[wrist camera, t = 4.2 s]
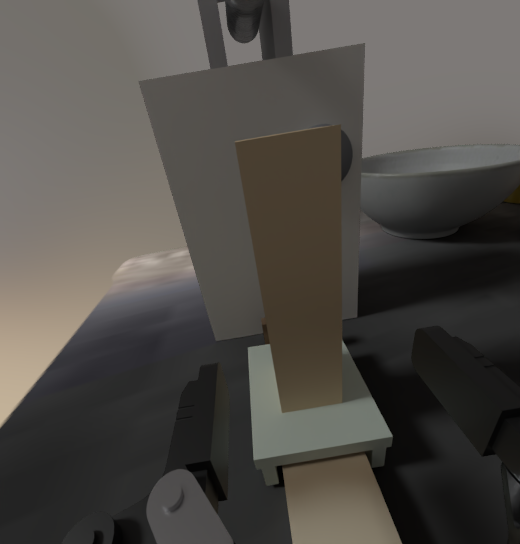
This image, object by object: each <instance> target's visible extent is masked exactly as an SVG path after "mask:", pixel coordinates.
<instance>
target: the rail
mask: <svg viewBox="0 0 520 544" xmlns="http://www.w3.org/2000/svg"><path fill="white" fill-rule="evenodd" d="M261 322H262V329H263V334H264V339H265V345H266V344H270V342H269V336H268V331H267V325H266V319H265V318H261ZM282 469H283V476H284V483H285V490H286V498H287V505H288V512H289V520H290V527H291V534H292V541H293V544H402V542H401V540H400V537H399V535H398V532H397V530H396V527H395V525H394V523H393V520H392V518H391V515H390V513H389V510H388V508H387V505H386V503H385V500H384V498H383V495H382V493H381V491H380V488H379V486H378V483H377V481H376V478H375V476H374V473H373V471H372V468H371V466H370V464H369V461H368V459H367V456H366V454H365V451H363V452H357V453H351V454H345V455H339V456H333V457H327V458H322V459H316V460H310V461H304V462H298V463H292V464H286V465H282Z"/></svg>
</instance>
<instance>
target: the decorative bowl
mask: <svg viewBox="0 0 520 544" xmlns="http://www.w3.org/2000/svg"><path fill="white" fill-rule="evenodd" d="M519 185H520V145H510V144H484V145H483V144H482V145H460V146H445V147H433V148H423V149H415V150H407V151H399V152H393V153H387V154H381V155H376V156H371V157H367V158H362V164H361V200H360V209H361V210H362V211H363V212H364V213H365V214H366V215H367V216H368V217H370V218H371V219H372V220H374V221H376V222H377V223H379V224H381V227H382V229H383V230H384V231H385V232H386V233H388V234H391V235H394V236H398V237H403V238H411V239H433V238H440V237H445V236H449V235H451V234H454V233H455V232H457V230H458V228H459V226H462V225H465V224H467V223H470V222H472V221H474V220H476V219H478V218H480V217H482V216H483V215H485V214H487V213H488V212H490V211H491V210H493V209H494V208H495V207H497V206H498V205H499V204H500V203H502V202H503V201H504V200H505V199H506V198H507V197H508V196H509V195H511V194H512V193H513V192H514V191H515V190H516V188H517V187H518V186H519Z"/></svg>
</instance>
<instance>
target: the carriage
mask: <svg viewBox="0 0 520 544" xmlns="http://www.w3.org/2000/svg"><path fill="white" fill-rule="evenodd" d="M235 147H236V152H237V158H238V164H239V170H240V175H241V181H242V187H243V193H244V198H245V204H246V210H247V216H248V221H249V227H250V233H251V239H252V244H253V250H254V256H255V262H256V267H257V273H258V279H259V285H260V290H261V296H262V302H263V308H264V313H265V319H266V325H267V331H268V336H269V342H270V344H266V345H260V346H255V347H249V348H248V359H249V378H250V397H251V416H252V436H253V455H254V463H255V466H256V470H257V469H262V472H263V476H264V480H265V483H266V486H268V485H274V484H279V480H278V472H277V466H280V465H286V464H292V463H298V462H304V461H310V460H316V459H322V458H327V457H333V456H339V455H345V454H351V453H357V452H363V451H365V454H366V456H367V459H368V461H369V464H370V466H371V468H374V467H380V466H384V462H385V455H386V447H391V446H392V439H393V436H392V434H391V432H390V430H389V428H388V426H387V424H386V422H385V420H384V419H383V417H382V415H381V413H380V411H379V409H378V407H377V405H376V403H375V401H374V399H373V397H372V396H371V394H370V392H369V390H368V388H367V386H366V384H365V382H364V380H363V378H362V376H361V374H360V373H359V371H358V369H357V367H356V365H355V363H354V361H353V359H352V357H351V355H350V353H349V351H348V350H347V348H346V346H345V344H344V342H343V340H342V226H341V124H340V125H332V126H325V127H317V128H310V129H304V130H298V131H292V132H287V133H281V134H275V135H269V136H263V137H257V138H251V139H245V140H239V141H235Z"/></svg>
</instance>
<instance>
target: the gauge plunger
mask: <svg viewBox="0 0 520 544" xmlns="http://www.w3.org/2000/svg"><path fill="white" fill-rule="evenodd" d="M225 4H226V16H227V26H228V30H229V32H230V34H231V36H232V37H233V38H234V39H235V40H236V41H238V42H240V43H248V42H250V41H252V40H253V39H254V38H255V36H256V35H257V32H258V29H259V25H260V20H261V15H262V9H263V4H264V0H225Z"/></svg>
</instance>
